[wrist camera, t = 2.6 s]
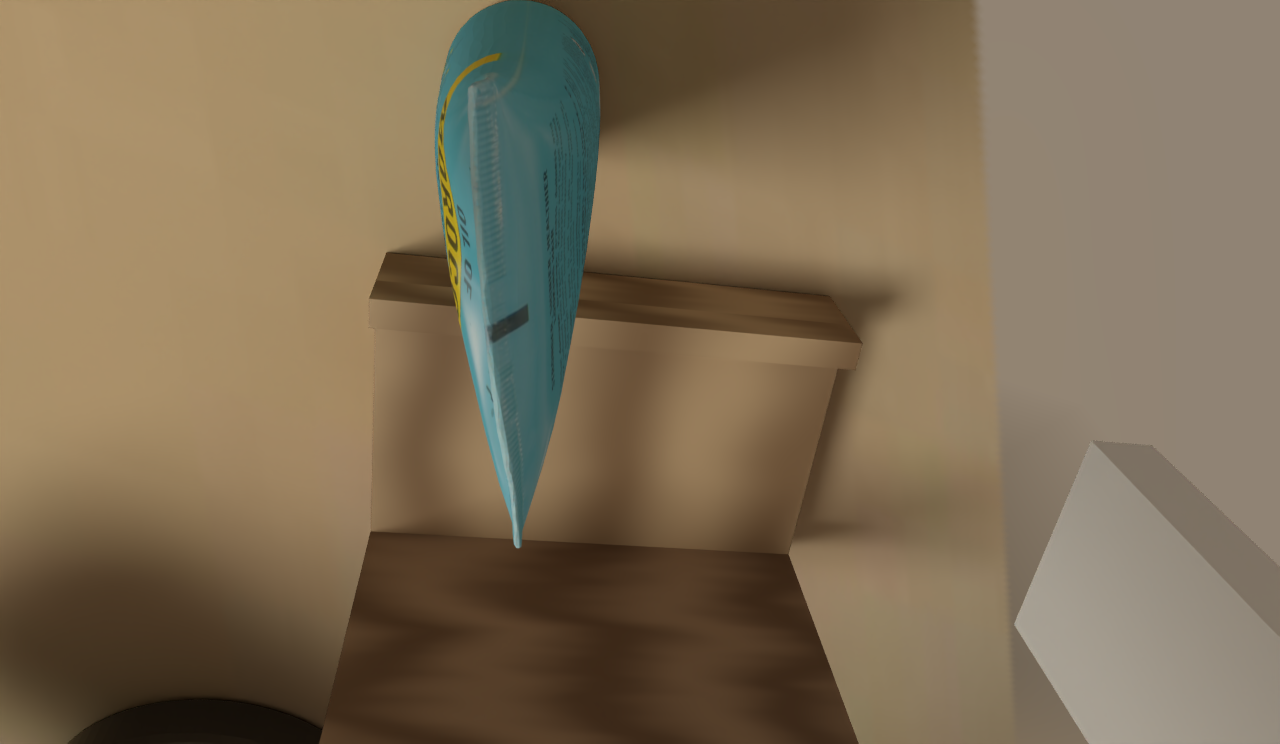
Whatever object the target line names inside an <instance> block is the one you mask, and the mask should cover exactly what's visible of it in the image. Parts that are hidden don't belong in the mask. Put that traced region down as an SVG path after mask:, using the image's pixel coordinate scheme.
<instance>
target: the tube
mask: <svg viewBox="0 0 1280 744" xmlns="http://www.w3.org/2000/svg"><path fill="white" fill-rule="evenodd" d="M599 133H600V83H599V73H598V67H597V63H596V59H595V56H594V53H593V51H592V48H591V46H590V44H589V42H588V40H587V39H586V37H585V36H584V34H583V33H582V31H581V30H580V29H579V28H578V26H577V25H576V24H575V23H574V22H573V21H572V20H570V19H569V18H568V17H567V16H566V15H564V14H563V13H561V12H560V11H558V10H556V9H554V8H552V7H551V6H548V5H545V4H542V3H538V2H534V1H526V0H510V1H504V2H501V3H497V4H494V5H492V6H489V7H487V8H485V9H483V10H481V11H480V12H478V13H477V14H475V15H474V16H473V17H472V18H470V19H469V20H468V21H467V23H466V24H465V25H464V26H463V27H462V28H461V29H460V31H459V32H458V33H457V35H456V37H455V39H454V41H453V43H452V45H451V47H450V50H449V53H448V56H447V60H446V64H445V67H444V71H443V75H442V81H441V85H440V91H439V97H438V103H437V110H436V121H435V158H436V175H437V183H438V192H439V200H440V208H441V217H442V225H443V232H444V238H445V246H446V254H447V260H448V266H449V272H450V278H451V284H452V289H453V294H454V298H455V303H456V308H457V313H458V318H459V324H460V327H461V332H462V336H463V341H464V345H465V349H466V354H467V358H468V363H469V367H470V371H471V375H472V380H473V384H474V388H475V392H476V396H477V400H478V405H479V409H480V413H481V417H482V421H483V425H484V429H485V433H486V437H487V441H488V444H489V448H490V452H491V455H492V459H493V463H494V466H495V470H496V474H497V478H498V481H499V484H500V487H501V490H502V493H503V496H504V499H505V502H506V505H507V508H508V511H509V514H510V517H511V520H512V530H513V541H514V545H515V547H516V548H520V547H521V545H522V531H523V527H524V524H525V521H526V518H527V515H528V512H529V508H530V505H531V502H532V499H533V496H534V492H535V489H536V486H537V483H538V479H539V476H540V473H541V470H542V466H543V463H544V459H545V456H546V452H547V449H548V445H549V441H550V438H551V434H552V431H553V427H554V423H555V418H556V414H557V410H558V405H559V401H560V397H561V392H562V387H563V382H564V376H565V371H566V366H567V361H568V355H569V350H570V345H571V340H572V334H573V329H574V323H575V318H576V312H577V307H578V301H579V295H580V289H581V283H582V276H583V270H584V263H585V257H586V250H587V243H588V236H589V228H590V221H591V213H592V206H593V198H594V190H595V181H596V172H597V161H598V149H599Z"/></svg>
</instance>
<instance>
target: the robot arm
mask: <svg viewBox="0 0 1280 744" xmlns="http://www.w3.org/2000/svg"><path fill="white" fill-rule="evenodd" d="M1014 625H1015V627H1016V628H1017V630H1018V631H1019V633H1020V634H1021V636H1022V638H1023V639H1024V641H1025V643H1026V644H1027V646H1028V647H1029V649H1030V651H1031V652H1032V654H1033V655H1034V657H1035V659H1036V660H1037V662H1038V663H1039V665H1040V667H1041V668H1042V670H1043V671H1044V673H1045V675H1046V676H1047V678H1048V679H1049V681H1050V683H1051V684H1052V686H1053V687H1054V689H1055V691H1056V692H1057V694H1058V695H1059V697H1060V699H1061V700H1062V702H1063V703H1064V705H1065V706H1066V708H1067V710H1068V711H1069V713H1070V715H1071V716H1072V718H1073V719H1074V721H1075V723H1076V724H1077V726H1078V727H1079V729H1080V731H1081V732H1082V734H1083V735H1084V737H1085V739H1086V740H1087V742H1088V743H1089V744H1280V567H1279V566H1278V565H1277V564H1276V563H1275V562H1274V561H1273V560H1272V559H1271V558H1270V557H1269V556H1268V555H1267V554H1266V553H1265V552H1264V551H1262V550H1261V549H1260V548H1259V547H1258V546H1257V545H1256V544H1255V543H1254V542H1253V541H1252V540H1251V539H1250V538H1249V537H1248V536H1247V535H1246V534H1245V533H1243V532H1242V531H1241V530H1240V529H1239V528H1238V527H1237V526H1236V525H1235V524H1234V523H1233V522H1232V521H1231V520H1230V519H1229V518H1228V517H1227V516H1226V515H1224V513H1222V512H1221V511H1220V510H1219V509H1218V508H1217V507H1216V506H1215V505H1214V504H1213V503H1212V502H1211V501H1210V500H1209V499H1208V498H1207V497H1206V496H1204V494H1203V493H1202V492H1200V491H1199V490H1198V489H1197V488H1196V487H1195V486H1194V485H1193V484H1192V483H1191V482H1190V481H1189V480H1188V479H1187V478H1186V477H1185V476H1184V475H1183V474H1182V473H1180V472H1179V471H1178V470H1177V469H1176V468H1175V467H1174V466H1173V465H1172V464H1171V463H1170V462H1169V461H1168V460H1167V459H1166V458H1165V457H1164V456H1163V455H1162V454H1160V453H1159V452H1158V451H1157V450H1156V449H1155V448H1154V447H1153V446H1152V445H1139V444H1127V443H1115V442H1102V441H1091V443H1090V445H1089V448H1088V450H1087V452H1086V455H1085V457H1084V459H1083V462H1082V464H1081V467H1080V469H1079V471H1078V474H1077V476H1076V478H1075V481H1074V483H1073V486H1072V488H1071V491H1070V493H1069V495H1068V498H1067V500H1066V502H1065V505H1064V507H1063V509H1062V512H1061V514H1060V516H1059V519H1058V521H1057V524H1056V526H1055V528H1054V531H1053V533H1052V535H1051V538H1050V540H1049V543H1048V545H1047V547H1046V550H1045V552H1044V555H1043V557H1042V559H1041V562H1040V564H1039V566H1038V569H1037V571H1036V574H1035V576H1034V578H1033V581H1032V583H1031V586H1030V588H1029V590H1028V592H1027V595H1026V597H1025V600H1024V602H1023V605H1022V607H1021V609H1020V611H1019V614H1018V616H1017V619H1016V621H1015V623H1014ZM321 734H322V730H320V729H318V728H316V727H314V726H312V725H310V724H308V723H306V722H304V721H302V720H300V719H297V718H295V717H292V716H290V715H287V714H284V713H281V712H278V711H275V710H271V709H267V708H264V707H260V706H255V705H250V704H245V703H238V702H231V701H221V700H178V701H168V702H161V703H155V704H150V705H145V706H141V707H137V708H133V709H130V710H126V711H124V712H121V713H118V714H115V715H113V716H110V717H108V718H106V719H103V720H102V721H100V722H98V723H96V724H94V725H92V726H90V727H89V728H87V729H85V730H84V731H82V732H81V733H80V734H78V735H77V736H76V737H74V738H73V739H72V740H71V741H70V742H69V743H67V744H319V742H320V738H321Z"/></svg>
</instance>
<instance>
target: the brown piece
mask: <svg viewBox="0 0 1280 744" xmlns="http://www.w3.org/2000/svg"><path fill="white" fill-rule="evenodd" d="M369 328H373V329H375V355H374V402H373V448H372V494H371V532H370V536H369V540H368V545H367V549H366V553H365V557H364V561H363V565H362V569H361V573H360V578H359V582H358V586H357V590H356V594H355V598H354V602H353V606H352V610H351V615H350V619H349V623H348V627H347V631H346V635H345V639H344V643H343V648H342V652H341V656H340V660H339V664H338V668H337V672H336V676H335V681H334V685H333V689H332V693H331V697H330V701H329V705H328V709H327V714H326V718H325V722H324V726H323V730H322V734H321V738H320V742H319V744H858V741H857V738H856V735H855V733H854V730H853V727H852V725H851V722H850V719H849V717H848V714H847V711H846V708H845V706H844V703H843V700H842V698H841V695H840V692H839V690H838V687H837V684H836V682H835V679H834V676H833V673H832V671H831V668H830V665H829V663H828V660H827V657H826V655H825V652H824V649H823V646H822V644H821V641H820V638H819V636H818V633H817V630H816V628H815V625H814V622H813V620H812V617H811V614H810V611H809V609H808V606H807V603H806V601H805V598H804V595H803V593H802V590H801V587H800V585H799V582H798V579H797V576H796V574H795V571H794V568H793V566H792V563H791V560H790V558H789V555H788V554H789V550H790V546H791V542H792V539H793V535H794V531H795V527H796V524H797V520H798V516H799V512H800V509H801V505H802V501H803V497H804V494H805V490H806V486H807V482H808V479H809V475H810V471H811V467H812V464H813V460H814V456H815V452H816V449H817V445H818V441H819V437H820V434H821V430H822V426H823V422H824V419H825V415H826V411H827V407H828V404H829V400H830V396H831V392H832V389H833V385H834V381H835V377H836V374H837V370H838V369H847V370H856V366H857V362H858V359H859V355H860V351H861V348H862V342H861V341H860V339H859V338H858V336H857V335H856V333H855V332H854V330H853V329H852V328H851V326H850V325H849V323H848V322H847V320H846V319H845V317H844V316H843V315H842V313H841V312H840V310H839V309H838V307H837V306H836V304H835V303H834V301H833V300H832V299H831V297H830V296H822V295H812V294H801V293H791V292H781V291H771V290H761V289H751V288H740V287H730V286H720V285H710V284H700V283H690V282H680V281H669V280H659V279H649V278H639V277H629V276H619V275H608V274H598V273H588V272H583V276H582V283H581V289H580V295H579V301H578V307H577V312H576V318H575V323H574V329H573V334H572V340H571V345H570V350H569V355H568V361H567V366H566V371H565V376H564V382H563V387H562V392H561V397H560V401H559V405H558V410H557V414H556V418H555V423H554V427H553V431H552V434H551V438H550V441H549V445H548V449H547V452H546V456H545V459H544V463H543V466H542V470H541V473H540V476H539V479H538V483H537V486H536V489H535V492H534V496H533V499H532V502H531V505H530V508H529V512H528V515H527V518H526V521H525V524H524V527H523V531H522V545H521V547H520V548H516V547H515V545H514V541H513V530H512V520H511V517H510V514H509V511H508V508H507V505H506V502H505V499H504V496H503V493H502V490H501V487H500V484H499V481H498V478H497V474H496V470H495V466H494V463H493V459H492V455H491V452H490V448H489V444H488V441H487V437H486V433H485V429H484V425H483V421H482V417H481V413H480V409H479V405H478V400H477V396H476V392H475V388H474V384H473V380H472V375H471V371H470V367H469V363H468V358H467V354H466V349H465V345H464V341H463V336H462V332H461V327H460V324H459V318H458V313H457V308H456V303H455V298H454V294H453V289H452V284H451V278H450V272H449V266H448V260H447V259H446V258H436V257H426V256H415V255H405V254H395V253H386V255H385V258H384V261H383V263H382V266H381V269H380V271H379V274H378V277H377V279H376V282H375V285H374V287H373V290H372V293H371V295H370V298H369Z"/></svg>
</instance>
